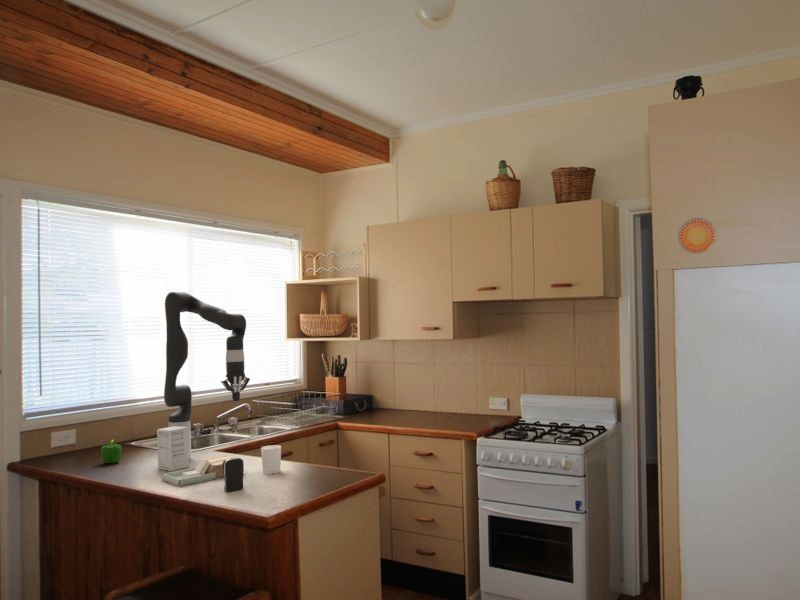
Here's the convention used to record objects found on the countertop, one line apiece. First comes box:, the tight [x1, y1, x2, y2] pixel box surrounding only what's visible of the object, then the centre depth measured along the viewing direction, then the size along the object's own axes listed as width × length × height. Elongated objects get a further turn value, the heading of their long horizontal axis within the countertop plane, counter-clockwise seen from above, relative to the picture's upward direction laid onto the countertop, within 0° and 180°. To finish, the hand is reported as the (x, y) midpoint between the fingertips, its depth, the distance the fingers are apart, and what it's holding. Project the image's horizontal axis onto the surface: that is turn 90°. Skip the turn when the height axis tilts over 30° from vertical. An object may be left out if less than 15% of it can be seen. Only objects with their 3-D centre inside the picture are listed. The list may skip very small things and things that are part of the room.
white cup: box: [260, 444, 282, 475], centre depth 251 cm, size 8×8×10 cm
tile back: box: [194, 458, 210, 474], centre depth 247 cm, size 5×5×2 cm
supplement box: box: [156, 426, 190, 472], centre depth 264 cm, size 10×9×17 cm
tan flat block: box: [198, 455, 245, 479], centre depth 252 cm, size 14×12×5 cm
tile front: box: [182, 470, 200, 479], centre depth 243 cm, size 5×5×2 cm
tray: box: [161, 466, 217, 487], centre depth 243 cm, size 15×15×2 cm
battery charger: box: [222, 457, 244, 493], centre depth 225 cm, size 7×4×11 cm, turn 131°
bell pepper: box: [100, 439, 123, 464], centre depth 279 cm, size 8×8×10 cm
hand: (236, 400), depth 268 cm, fingers closed
